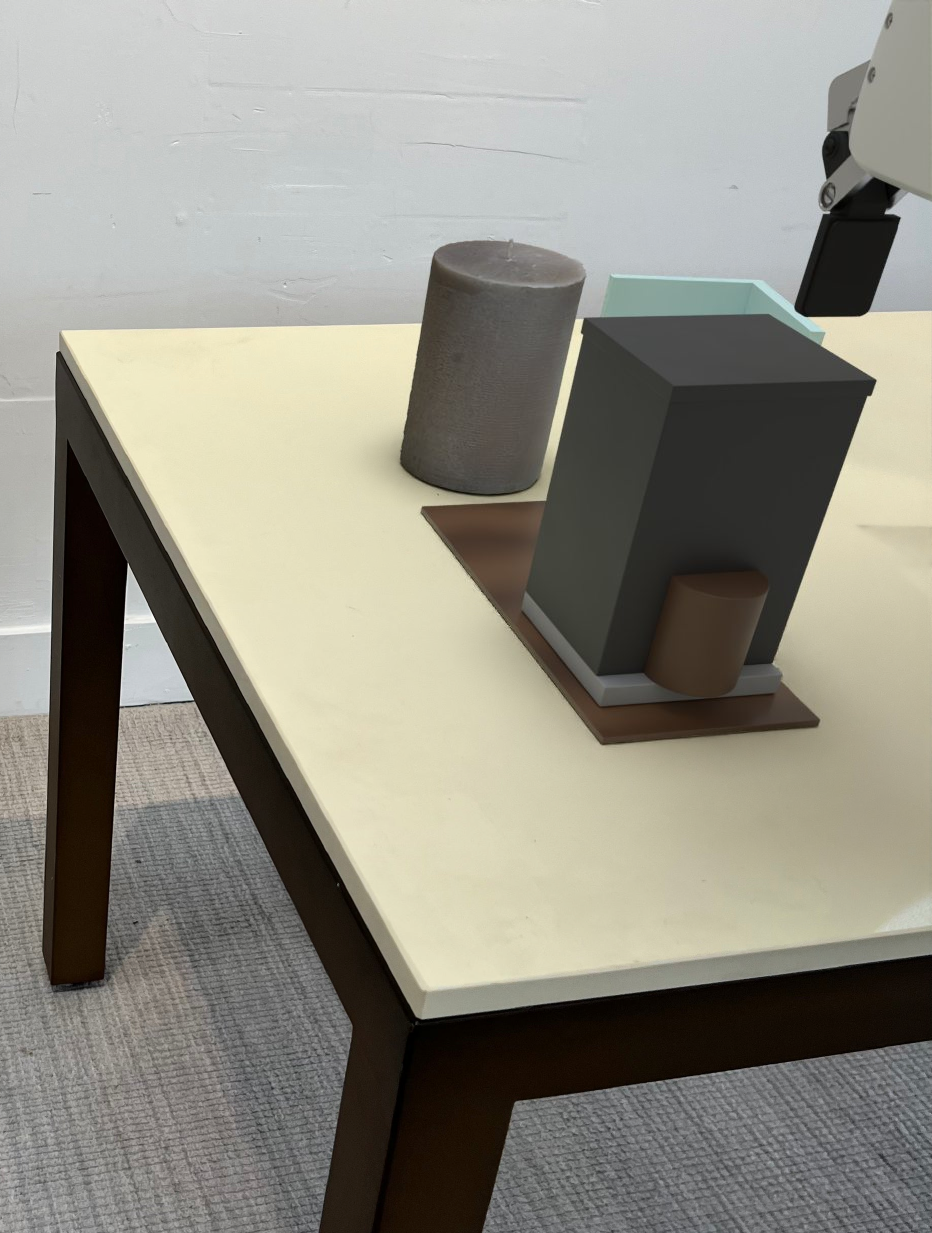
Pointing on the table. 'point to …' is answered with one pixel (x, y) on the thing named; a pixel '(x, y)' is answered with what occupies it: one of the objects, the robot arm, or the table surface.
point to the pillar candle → (490, 364)
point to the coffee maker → (687, 502)
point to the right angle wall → (701, 299)
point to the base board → (500, 564)
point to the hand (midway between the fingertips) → (900, 355)
